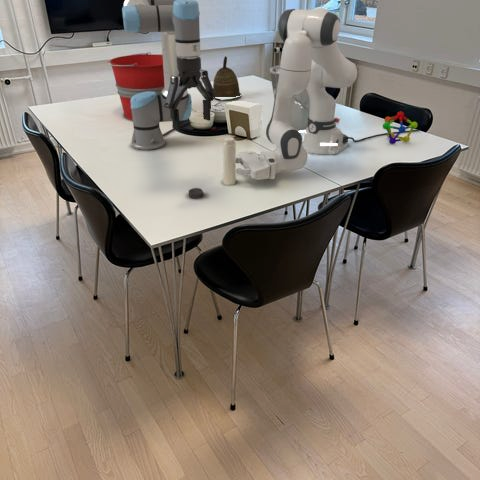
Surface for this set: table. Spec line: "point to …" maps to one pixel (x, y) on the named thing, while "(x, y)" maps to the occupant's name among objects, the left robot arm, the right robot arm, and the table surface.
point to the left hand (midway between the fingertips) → (192, 124)
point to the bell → (226, 82)
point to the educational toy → (398, 128)
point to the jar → (229, 161)
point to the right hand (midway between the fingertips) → (233, 166)
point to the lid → (195, 193)
